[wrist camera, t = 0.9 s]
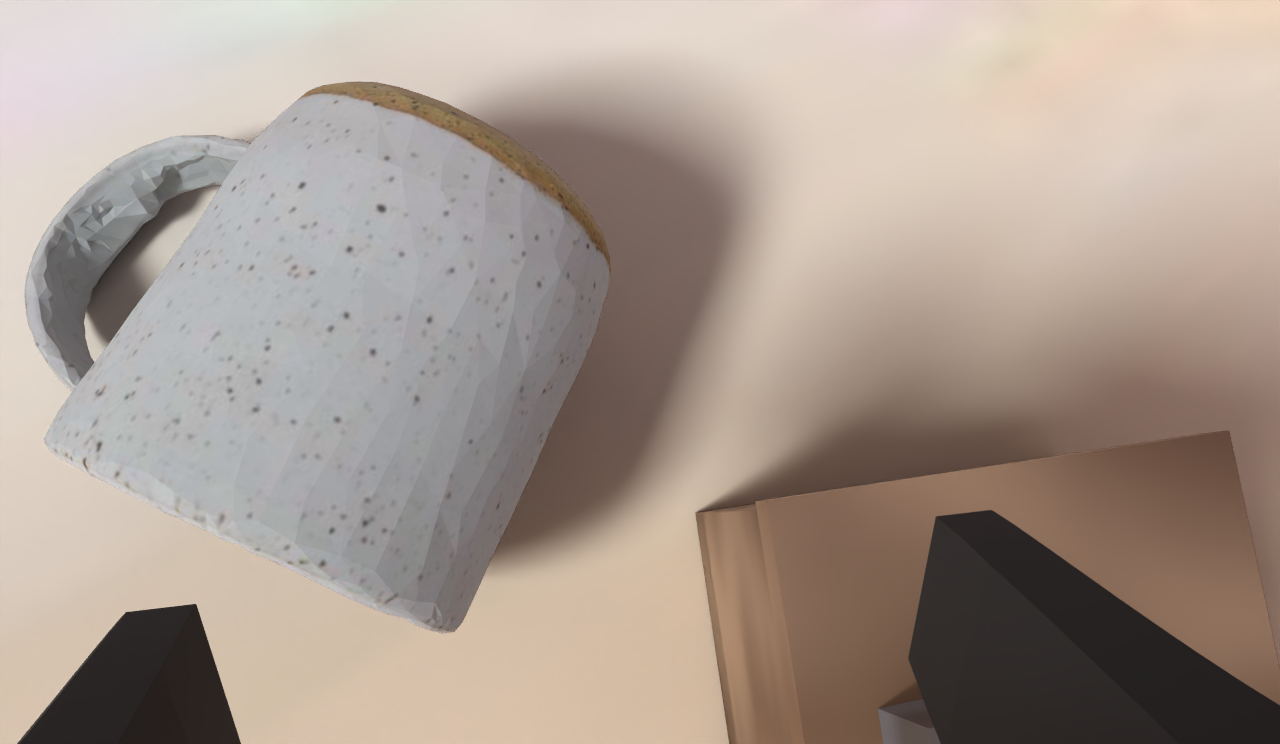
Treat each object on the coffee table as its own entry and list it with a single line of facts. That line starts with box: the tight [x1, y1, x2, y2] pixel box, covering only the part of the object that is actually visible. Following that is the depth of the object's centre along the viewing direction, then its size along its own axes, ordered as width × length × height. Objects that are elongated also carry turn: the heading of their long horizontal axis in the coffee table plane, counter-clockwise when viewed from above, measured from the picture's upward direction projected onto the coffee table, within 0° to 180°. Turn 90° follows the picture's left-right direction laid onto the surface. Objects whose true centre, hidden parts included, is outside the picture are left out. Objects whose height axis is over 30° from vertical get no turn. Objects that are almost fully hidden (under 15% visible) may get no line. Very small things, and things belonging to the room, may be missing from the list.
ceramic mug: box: [25, 82, 611, 633], centre depth 18 cm, size 11×8×8 cm
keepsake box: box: [696, 504, 793, 744], centre depth 22 cm, size 10×10×4 cm
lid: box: [755, 431, 1280, 744], centre depth 18 cm, size 10×10×2 cm
